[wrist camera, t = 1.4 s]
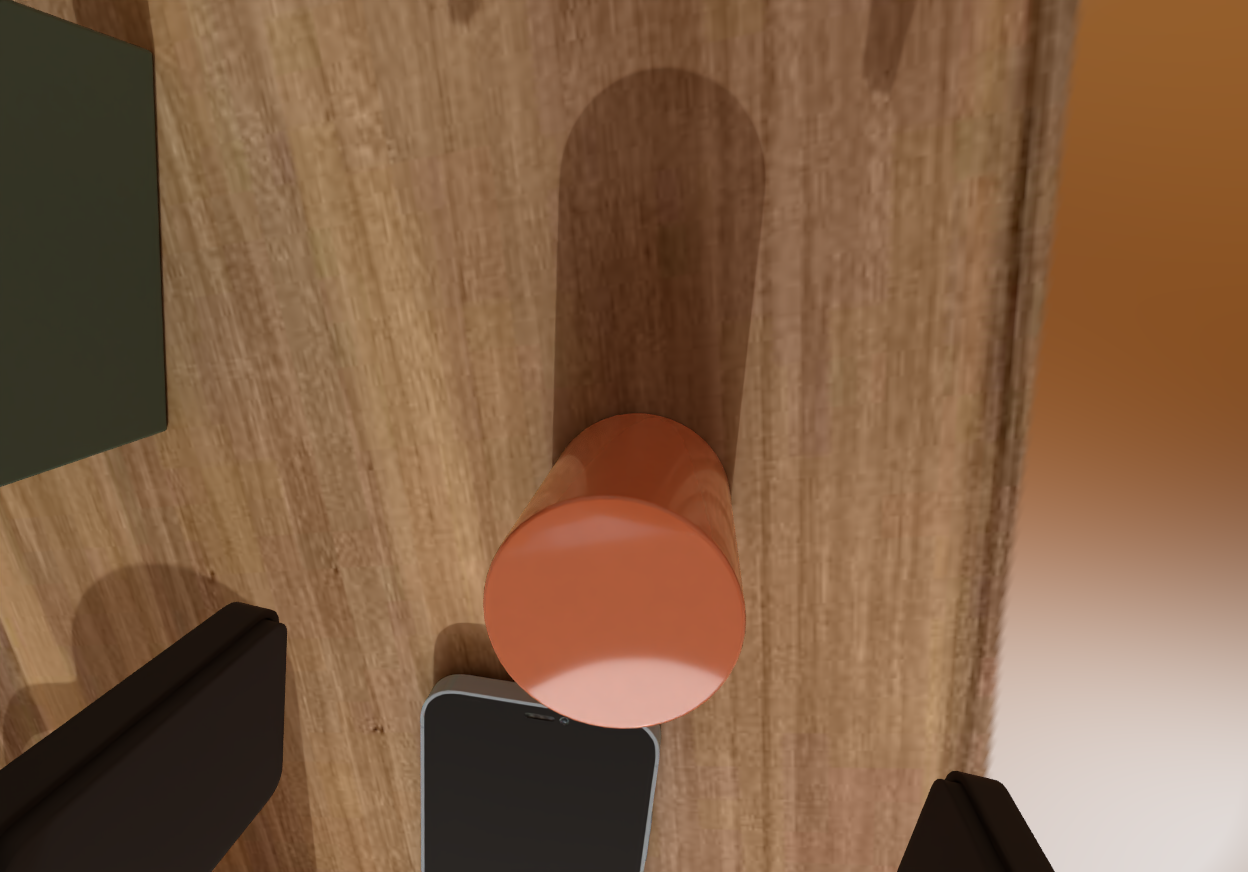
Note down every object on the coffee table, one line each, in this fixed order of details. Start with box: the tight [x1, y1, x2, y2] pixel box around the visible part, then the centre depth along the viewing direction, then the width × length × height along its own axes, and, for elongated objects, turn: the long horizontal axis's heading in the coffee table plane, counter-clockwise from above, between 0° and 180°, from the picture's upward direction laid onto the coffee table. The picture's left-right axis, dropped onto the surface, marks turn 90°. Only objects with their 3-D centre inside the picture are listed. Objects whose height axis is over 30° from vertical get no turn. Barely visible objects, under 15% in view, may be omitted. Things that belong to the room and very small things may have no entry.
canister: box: [483, 413, 746, 729], centre depth 15 cm, size 5×5×6 cm
